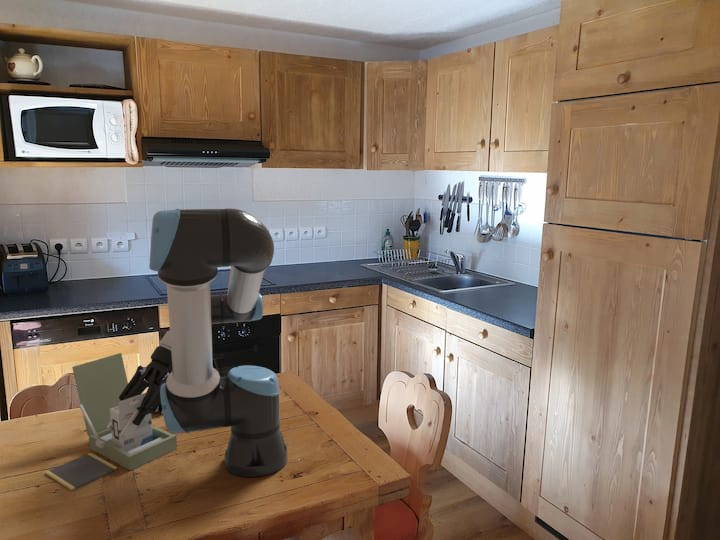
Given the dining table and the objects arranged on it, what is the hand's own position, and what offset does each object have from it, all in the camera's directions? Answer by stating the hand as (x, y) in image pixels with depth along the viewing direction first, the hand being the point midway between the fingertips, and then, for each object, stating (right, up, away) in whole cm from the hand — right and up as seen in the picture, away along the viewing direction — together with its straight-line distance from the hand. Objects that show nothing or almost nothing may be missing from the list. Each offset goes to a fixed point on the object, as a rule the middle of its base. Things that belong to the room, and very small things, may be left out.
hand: (118, 432), depth 137 cm
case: (0, -5, +5) cm, 7 cm away
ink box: (+2, -5, +4) cm, 7 cm away
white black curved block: (+2, 0, +32) cm, 32 cm away
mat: (-6, -7, -7) cm, 11 cm away
